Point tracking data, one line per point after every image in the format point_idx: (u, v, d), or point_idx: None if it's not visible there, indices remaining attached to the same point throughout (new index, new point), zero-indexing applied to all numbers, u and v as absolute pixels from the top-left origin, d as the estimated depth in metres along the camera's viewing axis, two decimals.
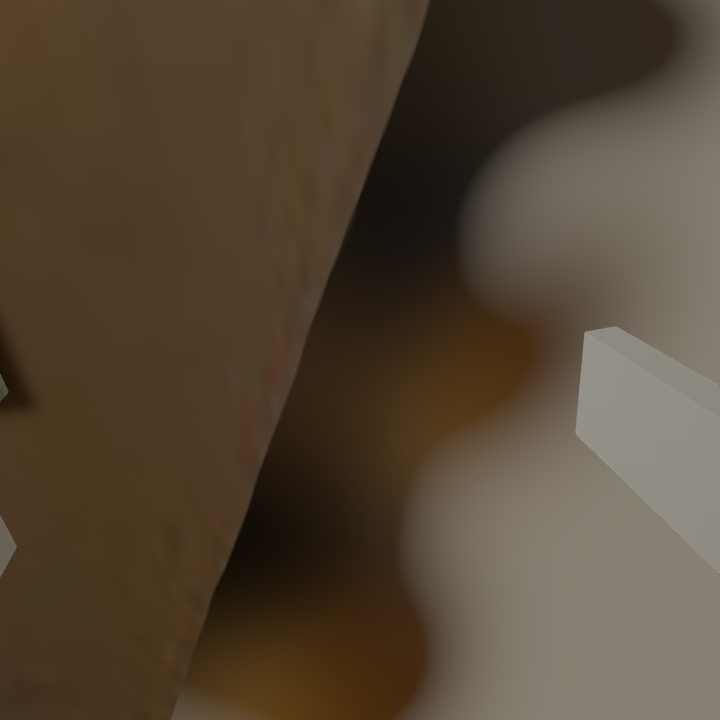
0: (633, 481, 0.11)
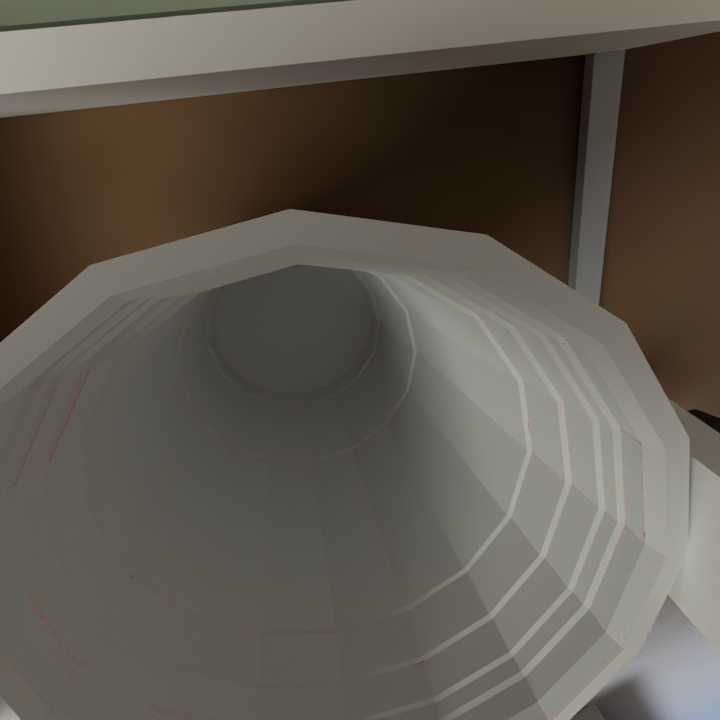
0: None
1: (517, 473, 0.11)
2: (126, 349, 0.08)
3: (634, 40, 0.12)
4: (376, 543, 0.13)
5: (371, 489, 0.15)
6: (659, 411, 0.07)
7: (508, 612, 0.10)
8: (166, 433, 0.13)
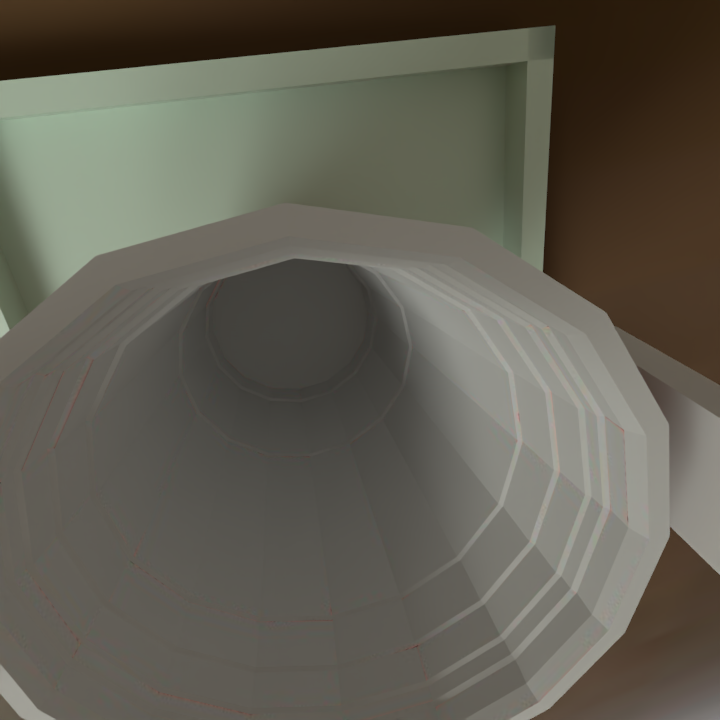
0: None
1: (508, 463, 0.11)
2: (128, 340, 0.09)
3: None
4: (372, 533, 0.14)
5: (368, 482, 0.15)
6: (639, 398, 0.07)
7: (500, 597, 0.11)
8: (167, 425, 0.13)
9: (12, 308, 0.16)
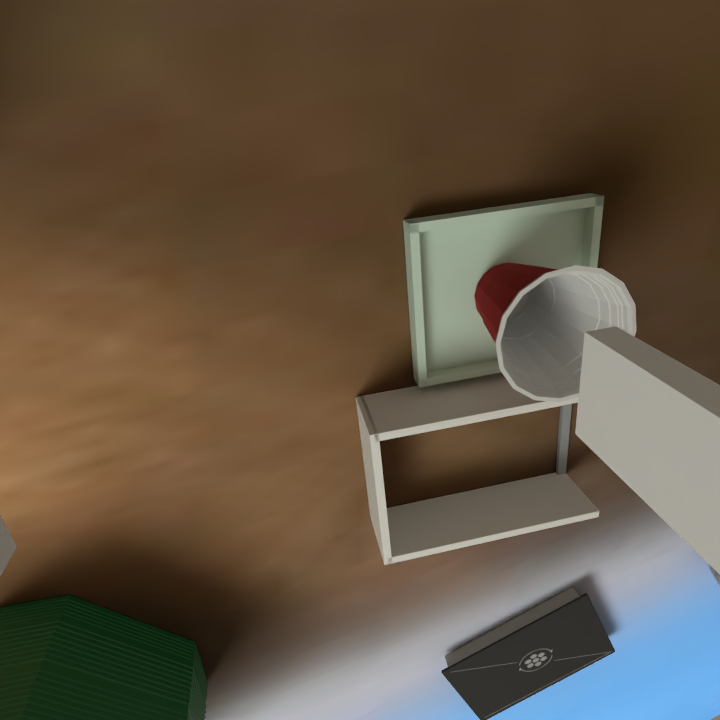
0: (633, 481, 0.11)
1: (595, 326, 0.42)
2: (516, 290, 0.39)
3: None
4: (548, 355, 0.44)
5: (542, 344, 0.46)
6: (629, 299, 0.38)
7: None
8: (488, 321, 0.44)
9: None
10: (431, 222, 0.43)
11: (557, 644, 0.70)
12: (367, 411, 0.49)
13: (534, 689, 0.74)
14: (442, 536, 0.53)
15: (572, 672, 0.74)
